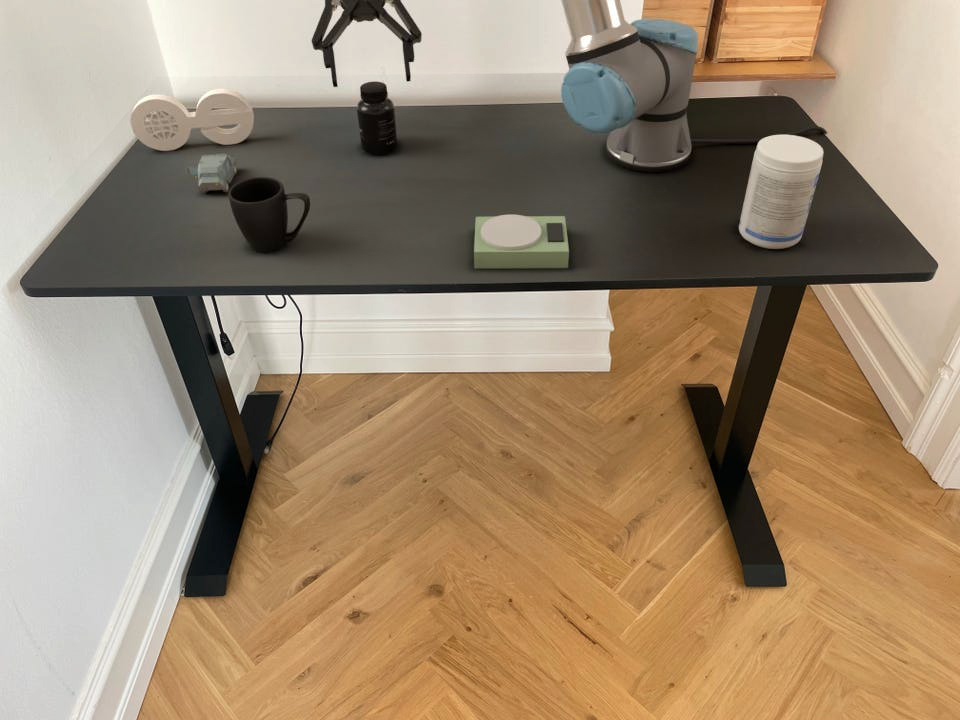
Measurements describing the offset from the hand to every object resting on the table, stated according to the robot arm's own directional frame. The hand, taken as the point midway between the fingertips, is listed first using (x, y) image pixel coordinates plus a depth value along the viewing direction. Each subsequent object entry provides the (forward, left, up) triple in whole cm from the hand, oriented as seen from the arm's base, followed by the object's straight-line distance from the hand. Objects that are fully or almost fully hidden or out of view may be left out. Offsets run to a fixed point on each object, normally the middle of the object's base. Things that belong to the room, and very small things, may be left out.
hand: (371, 81), depth 145 cm
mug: (+11, +38, -11) cm, 41 cm away
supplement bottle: (-1, +5, -11) cm, 12 cm away
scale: (-27, +40, -11) cm, 50 cm away
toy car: (+27, +18, -11) cm, 34 cm away
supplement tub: (-66, +36, -11) cm, 76 cm away
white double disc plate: (+34, +3, -11) cm, 36 cm away
